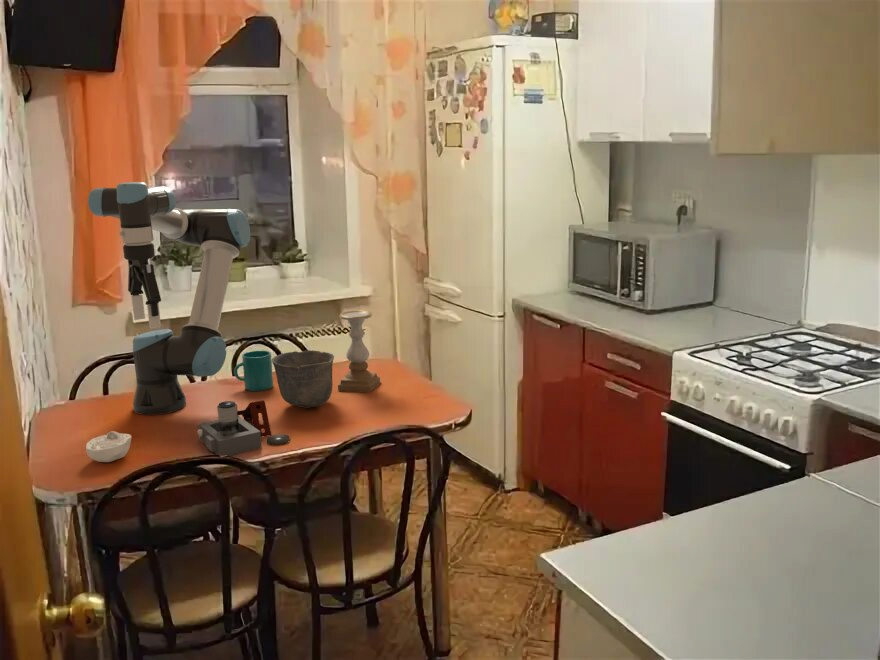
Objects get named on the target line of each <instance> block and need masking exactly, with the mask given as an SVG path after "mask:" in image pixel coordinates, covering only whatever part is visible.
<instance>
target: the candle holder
mask: <svg viewBox="0 0 880 660" xmlns="http://www.w3.org/2000/svg"><path fill="white" fill-rule="evenodd" d="M372 316H373V313H372V312H371V311H368V310H348V311H343V312H341V313H339V318H340V319H341V320H343V321H344V320H345V321H347V323H348V324H349V325H350V330H349V332H348V336H349V337H350V338H351V342H350V345H349V347H348V349H347V351H346V354H345V355H346V359H347V360H348V361H349V362H350V363H349V364H348V369H349V370H350V371H348V372H347V373H346V375H344V376H343V377H342V378H341V379H340V382H339V383H338V385H337V391H339V392H351V393H352V392H354V393H372V391H374V390H375V389H376V388H377V387H378V386H379V385H380V383H381V377H380V376H378V374H377V373H376V372H370V371H369V370H367V369H368V367H369V364H368V363H367V362H366V361H367V360H368V359H369V358H370V351H369V349H368V348H367V346H366V345H365V344H364V341H363V338H364V335H366V332H365V331H364V329H363V324H364V322H365V320H367V319H370V318H372Z"/></svg>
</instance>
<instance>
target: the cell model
mask: <svg viewBox="0 0 880 660" xmlns="http://www.w3.org/2000/svg"><path fill="white" fill-rule="evenodd" d="M131 441H132V434H129V433H122V432H121V433H119V432H117V431H113V430H112V431H109V432H107V434H102V435H99V436H97V437H94V438H92V439H90V440H89V441H87V443H86V444H85V445H86V446H85V450H86V455H87V456H88V458H90V459H92V460H94V461H96V462H99V463H111V462H114V461H116V460H119V459H121V458H124V457H125V456H126V455H127V453H128V452H129V449H130V447H131Z"/></svg>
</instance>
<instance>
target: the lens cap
mask: <svg viewBox="0 0 880 660" xmlns="http://www.w3.org/2000/svg"><path fill="white" fill-rule="evenodd" d="M290 438H291V436H290V435H288V434H283V433H278V434H271V435H270V436H267V438H266V443H267V444H268V445H270V444H271V446H281V445H280V444H282V445H285V443H286V444H287V442H288V441H289V442H290V441H291V439H290ZM289 442H288V443H289ZM272 444H273V445H272Z"/></svg>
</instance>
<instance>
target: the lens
mask: <svg viewBox="0 0 880 660" xmlns="http://www.w3.org/2000/svg"><path fill="white" fill-rule="evenodd" d="M238 411H239V410H238V404H237V403H236V402H235V401H232V400H225V401H222V402H220V403H219V404H218V405H217V420H219V431H220V434H221V435H222V436H228V435H232V434H237V433H239V422H238V416H239V415H238Z"/></svg>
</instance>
